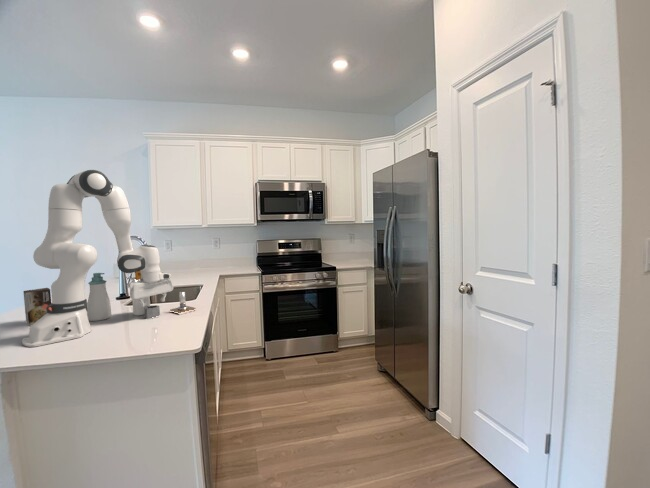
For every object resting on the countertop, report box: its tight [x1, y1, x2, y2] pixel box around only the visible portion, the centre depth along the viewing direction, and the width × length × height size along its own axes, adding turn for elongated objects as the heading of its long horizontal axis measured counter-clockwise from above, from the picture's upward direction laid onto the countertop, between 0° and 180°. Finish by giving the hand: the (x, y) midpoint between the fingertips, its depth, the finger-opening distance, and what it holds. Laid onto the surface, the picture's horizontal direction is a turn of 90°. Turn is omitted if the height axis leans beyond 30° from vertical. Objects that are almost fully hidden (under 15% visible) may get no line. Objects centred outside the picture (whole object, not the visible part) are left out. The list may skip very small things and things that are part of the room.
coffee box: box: [23, 287, 52, 327], centre depth 153 cm, size 9×6×16 cm
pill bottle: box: [132, 296, 151, 316], centre depth 166 cm, size 8×8×15 cm
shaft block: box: [169, 291, 196, 313], centre depth 169 cm, size 9×9×10 cm
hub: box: [144, 304, 161, 319], centre depth 160 cm, size 6×6×5 cm
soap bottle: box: [87, 272, 112, 322], centre depth 158 cm, size 10×10×23 cm
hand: (153, 303), depth 161 cm, fingers open, 8 cm apart
